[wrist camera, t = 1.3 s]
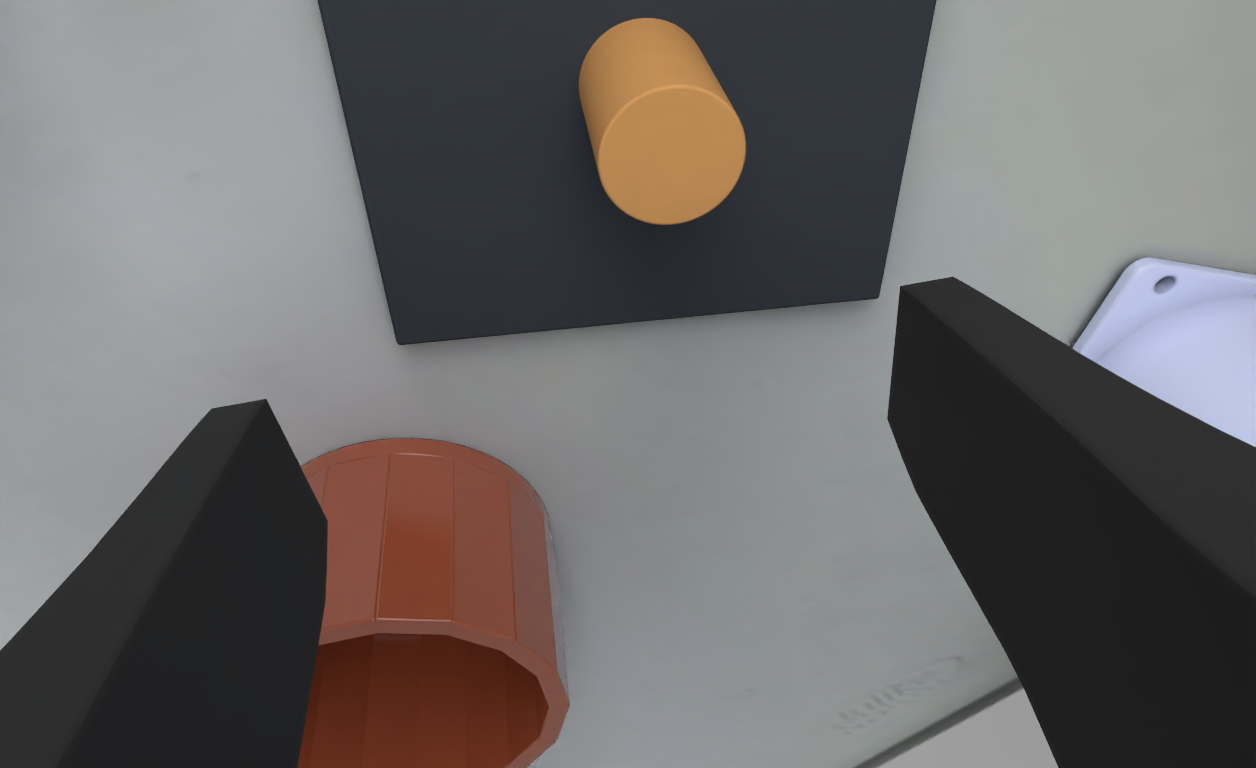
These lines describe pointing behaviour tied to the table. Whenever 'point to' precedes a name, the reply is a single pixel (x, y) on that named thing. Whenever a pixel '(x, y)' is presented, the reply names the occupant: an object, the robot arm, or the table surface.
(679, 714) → the table surface
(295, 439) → the table surface
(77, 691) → the robot arm
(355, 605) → the cup
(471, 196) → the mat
